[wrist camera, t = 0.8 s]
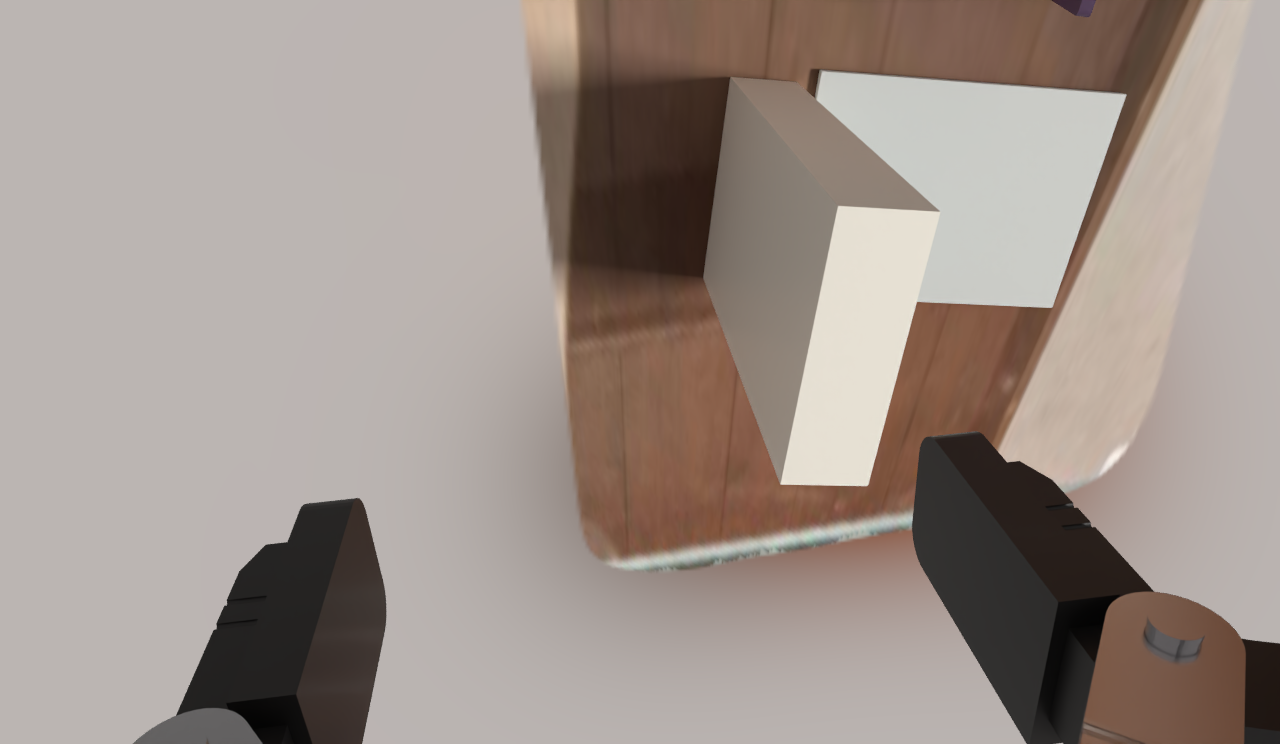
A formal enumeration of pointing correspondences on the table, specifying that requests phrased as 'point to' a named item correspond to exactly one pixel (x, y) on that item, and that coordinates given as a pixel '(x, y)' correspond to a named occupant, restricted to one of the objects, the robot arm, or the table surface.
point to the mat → (985, 173)
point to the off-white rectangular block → (813, 278)
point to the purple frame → (1077, 6)
